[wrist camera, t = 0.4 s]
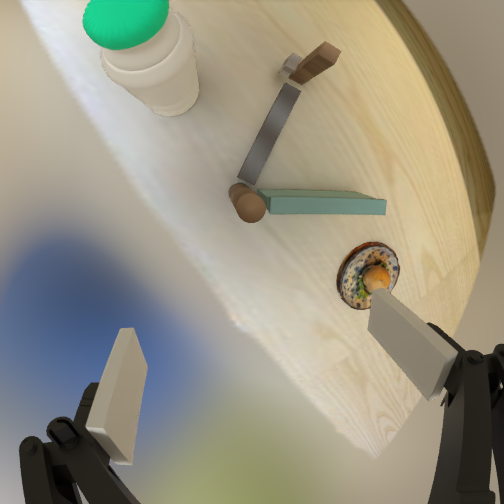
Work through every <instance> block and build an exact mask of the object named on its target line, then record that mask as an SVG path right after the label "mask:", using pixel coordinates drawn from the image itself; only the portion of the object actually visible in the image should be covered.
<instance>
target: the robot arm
mask: <svg viewBox="0 0 504 504" xmlns="http://www.w3.org/2000/svg"><path fill="white" fill-rule="evenodd" d="M368 331H369V332H370V333H371V334H372V335H373V337H374V338H375V339H376V340H377V341H378V342H379V343H380V345H381V346H382V347H383V348H384V349H385V350H386V352H387V353H388V354H389V355H390V356H391V357H392V359H393V360H394V361H395V362H396V363H397V365H398V366H399V367H400V368H401V369H402V371H403V372H404V373H405V374H406V375H407V376H408V378H409V379H410V380H411V381H412V382H413V384H414V385H415V386H416V387H417V389H418V390H419V391H420V392H421V393H422V395H423V396H424V397H425V398H426V400H427V401H430V400H432V399H434V398H436V397H438V396H440V394H441V391H442V389H443V387H445V388H446V390H447V392H446V394H445V397H444V398H443V400H442V403H441V405H440V406H442V405H443V404H444V402H445V408H444V419H443V429H442V437H441V443H440V450H439V456H438V461H437V466H436V472H435V476H434V481H433V485H432V489H431V493H430V497H429V501H428V504H495V493H494V492H493V491H490V490H489V483H490V471H491V456H492V449H493V454H494V460H495V465H496V471H497V477H498V485H499V494H500V504H504V344H498V345H497V346H496V347H495V349H494V351H493V353H492V354H487V355H483V354H482V353H480V352H478V351H475V350H469V351H465V350H464V349H463V348H462V347H461V346H460V345H459V344H458V343H456V342H455V341H454V340H453V339H452V338H451V337H449V336H448V335H447V334H446V333H444V331H443V330H441V329H440V328H439V327H438V326H436V325H434V324H432V323H425V322H424V321H423V320H422V319H420V318H419V317H418V316H417V315H416V314H414V313H413V312H412V311H411V310H410V309H409V308H407V307H406V306H405V305H404V304H403V303H401V302H400V301H399V300H398V299H397V298H395V297H394V296H393V295H392V294H391V293H389V292H388V291H387V290H386V289H384V288H379V289H375V290H372V299H371V308H370V316H369V323H368ZM147 369H148V366H147V364H146V361H145V358H144V356H143V353H142V350H141V348H140V345H139V342H138V339H137V336H136V334H135V331H134V328H123V329H120V331H119V333H118V336H117V338H116V341H115V343H114V346H113V349H112V351H111V354H110V356H109V359H108V361H107V364H106V367H105V369H104V372H103V375H102V378H101V381H100V383H90V385H89V386H88V387H87V388H86V389H85V391H84V393H83V396H82V400H81V401H80V404H79V407H78V410H77V412H76V415H75V418H74V421H72V420H71V419H70V418H68V417H58V418H55V419H54V420H52V421H51V422H50V423H49V425H48V426H47V430H46V432H47V436H48V437H49V438H50V439H51V441H52V442H48V443H43V442H42V441H41V440H40V439H39V438H38V437H35V436H29V437H27V438H25V439H24V440H23V441H22V442H21V444H20V447H19V455H20V468H21V477H22V484H23V491H24V497H25V503H26V504H82V501H81V497H80V494H79V491H78V488H77V485H78V486H79V488H80V490H81V492H82V493H83V495H84V496H85V498H86V500H87V501H88V503H89V504H140V502H139V501H138V500H137V499H136V498H135V497H134V496H133V495H132V493H131V492H130V491H129V490H128V488H127V487H126V486H125V485H124V483H123V482H122V481H121V480H120V479H119V477H118V476H117V474H116V473H115V472H114V470H113V469H112V468H111V466H110V465H109V461H110V458H111V459H112V460H113V461H114V462H115V464H123V465H132V462H133V453H134V446H135V439H136V431H137V425H138V419H139V413H140V407H141V400H142V395H143V390H144V384H145V379H146V374H147ZM501 383H502V385H503V388H502V389H501V387H500V384H501ZM76 483H77V484H76Z"/></svg>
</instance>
